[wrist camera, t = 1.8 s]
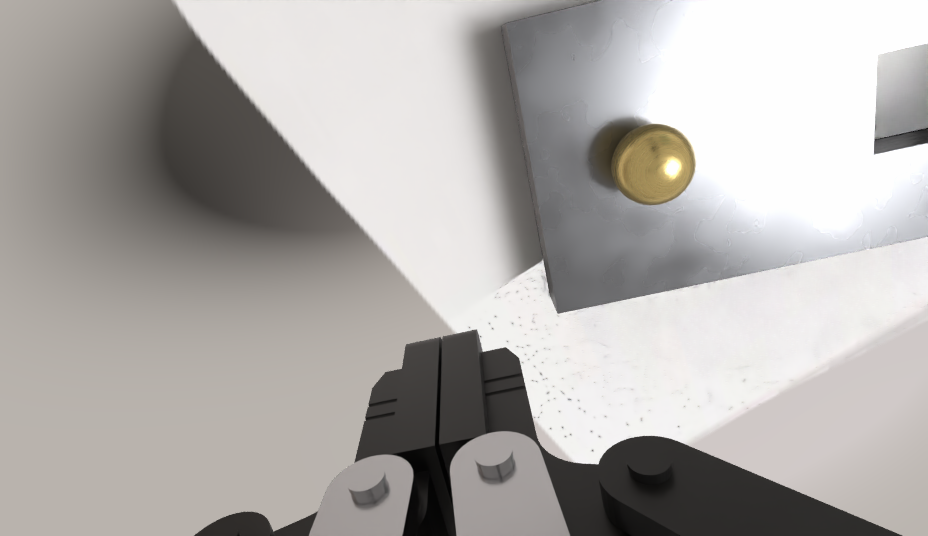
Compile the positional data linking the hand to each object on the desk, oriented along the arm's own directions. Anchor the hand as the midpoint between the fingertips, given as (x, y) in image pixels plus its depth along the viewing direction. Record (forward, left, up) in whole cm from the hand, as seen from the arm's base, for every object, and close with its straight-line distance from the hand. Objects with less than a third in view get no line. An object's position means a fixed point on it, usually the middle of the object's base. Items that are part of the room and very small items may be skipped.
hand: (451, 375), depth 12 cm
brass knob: (0, +9, -14) cm, 17 cm away
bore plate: (0, +16, -18) cm, 24 cm away
